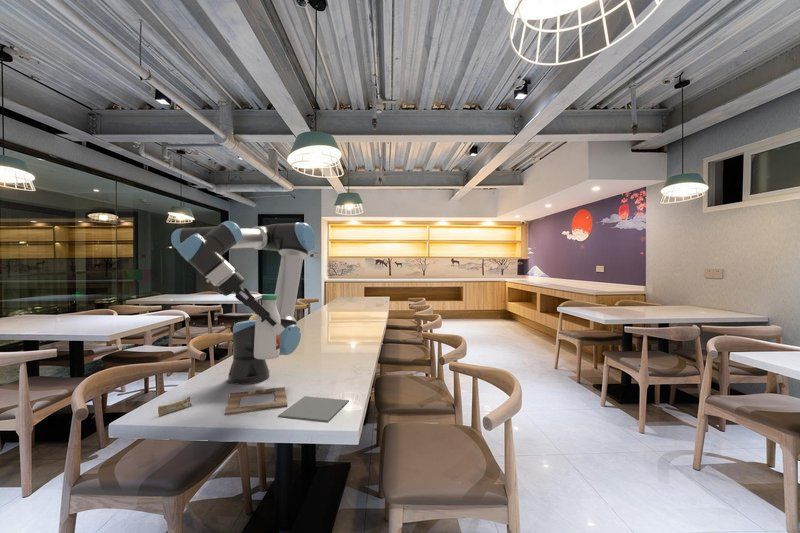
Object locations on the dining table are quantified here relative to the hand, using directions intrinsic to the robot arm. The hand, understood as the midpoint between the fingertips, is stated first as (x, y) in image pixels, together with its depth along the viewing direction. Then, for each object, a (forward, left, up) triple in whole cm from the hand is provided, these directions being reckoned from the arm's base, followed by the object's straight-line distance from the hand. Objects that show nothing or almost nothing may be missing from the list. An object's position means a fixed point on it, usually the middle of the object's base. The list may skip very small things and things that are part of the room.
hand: (279, 329), depth 115 cm
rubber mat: (+1, +13, -24) cm, 27 cm away
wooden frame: (-1, -9, -24) cm, 26 cm away
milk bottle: (+3, -3, -9) cm, 9 cm away
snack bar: (+12, -29, -24) cm, 39 cm away
